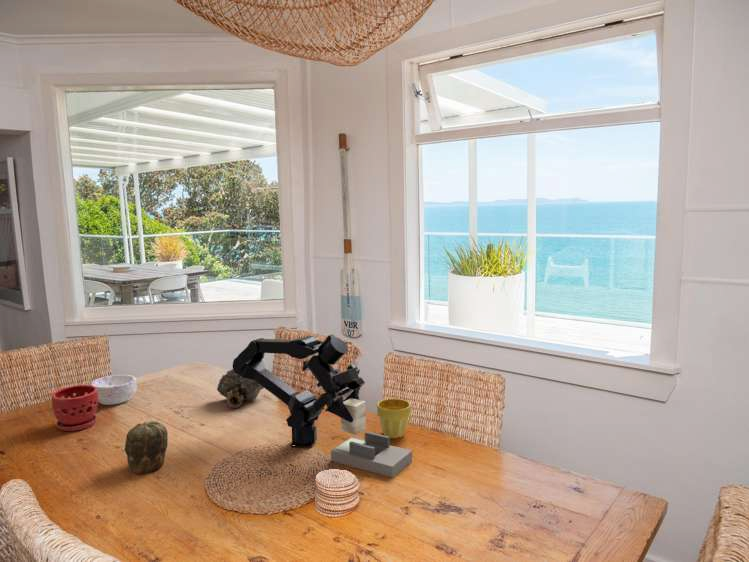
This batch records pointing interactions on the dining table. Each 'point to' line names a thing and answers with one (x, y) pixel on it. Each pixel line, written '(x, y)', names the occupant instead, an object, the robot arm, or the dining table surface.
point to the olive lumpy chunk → (146, 447)
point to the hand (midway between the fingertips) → (357, 418)
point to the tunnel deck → (372, 454)
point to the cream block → (354, 416)
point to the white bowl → (115, 388)
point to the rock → (237, 388)
